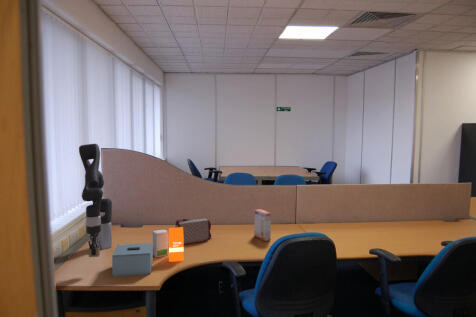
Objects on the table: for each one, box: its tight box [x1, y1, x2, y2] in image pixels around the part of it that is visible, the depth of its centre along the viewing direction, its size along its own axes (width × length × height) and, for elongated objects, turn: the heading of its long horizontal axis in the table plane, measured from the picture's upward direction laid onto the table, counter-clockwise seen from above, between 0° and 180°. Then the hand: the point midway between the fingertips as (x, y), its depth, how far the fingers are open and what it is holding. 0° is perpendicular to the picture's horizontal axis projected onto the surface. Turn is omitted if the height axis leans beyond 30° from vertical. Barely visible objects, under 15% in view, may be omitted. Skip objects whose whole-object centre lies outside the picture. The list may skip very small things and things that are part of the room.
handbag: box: [175, 217, 212, 246], centre depth 227 cm, size 28×11×17 cm, turn 120°
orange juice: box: [168, 227, 185, 263], centre depth 194 cm, size 8×9×20 cm
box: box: [111, 242, 154, 277], centre depth 179 cm, size 16×20×12 cm
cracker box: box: [253, 208, 272, 242], centre depth 235 cm, size 14×6×21 cm, turn 29°
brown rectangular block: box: [88, 246, 101, 258], centre depth 174 cm, size 3×5×5 cm, turn 101°
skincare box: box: [152, 229, 169, 258], centre depth 200 cm, size 8×7×16 cm
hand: (94, 253), depth 174 cm, fingers closed on brown rectangular block, 2 cm apart
